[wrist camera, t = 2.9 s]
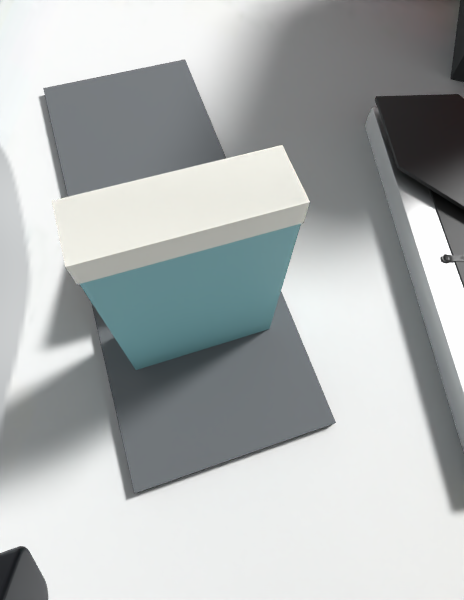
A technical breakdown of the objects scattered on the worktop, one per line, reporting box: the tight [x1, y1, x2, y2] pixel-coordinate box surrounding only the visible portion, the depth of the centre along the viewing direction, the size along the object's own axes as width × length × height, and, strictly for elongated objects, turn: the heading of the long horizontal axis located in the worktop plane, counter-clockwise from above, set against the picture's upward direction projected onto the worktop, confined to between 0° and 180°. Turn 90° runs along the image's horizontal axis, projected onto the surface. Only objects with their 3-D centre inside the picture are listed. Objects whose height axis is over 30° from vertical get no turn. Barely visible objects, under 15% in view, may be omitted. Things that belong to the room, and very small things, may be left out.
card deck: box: [52, 145, 310, 370], centre depth 16 cm, size 2×7×10 cm, turn 108°
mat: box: [43, 60, 336, 493], centre depth 23 cm, size 24×9×1 cm, turn 18°
